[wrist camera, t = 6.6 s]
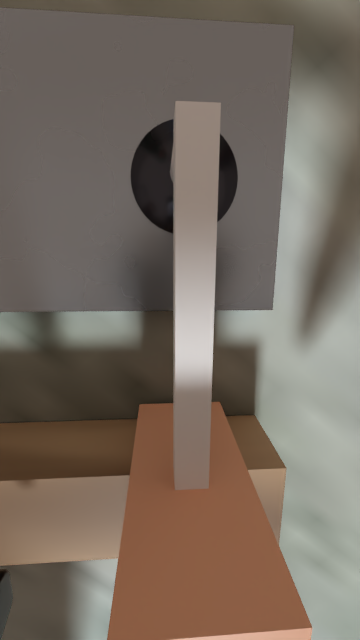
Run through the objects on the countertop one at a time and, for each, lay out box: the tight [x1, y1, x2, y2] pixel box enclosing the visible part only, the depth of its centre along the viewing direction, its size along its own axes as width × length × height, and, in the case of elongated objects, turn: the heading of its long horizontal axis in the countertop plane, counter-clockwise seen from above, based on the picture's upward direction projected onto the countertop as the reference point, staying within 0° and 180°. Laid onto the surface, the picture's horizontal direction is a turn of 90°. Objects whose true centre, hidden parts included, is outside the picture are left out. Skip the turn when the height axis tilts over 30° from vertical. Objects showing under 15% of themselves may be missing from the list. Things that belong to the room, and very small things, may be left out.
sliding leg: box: [107, 101, 312, 640], centre depth 7 cm, size 13×3×7 cm, turn 0°
